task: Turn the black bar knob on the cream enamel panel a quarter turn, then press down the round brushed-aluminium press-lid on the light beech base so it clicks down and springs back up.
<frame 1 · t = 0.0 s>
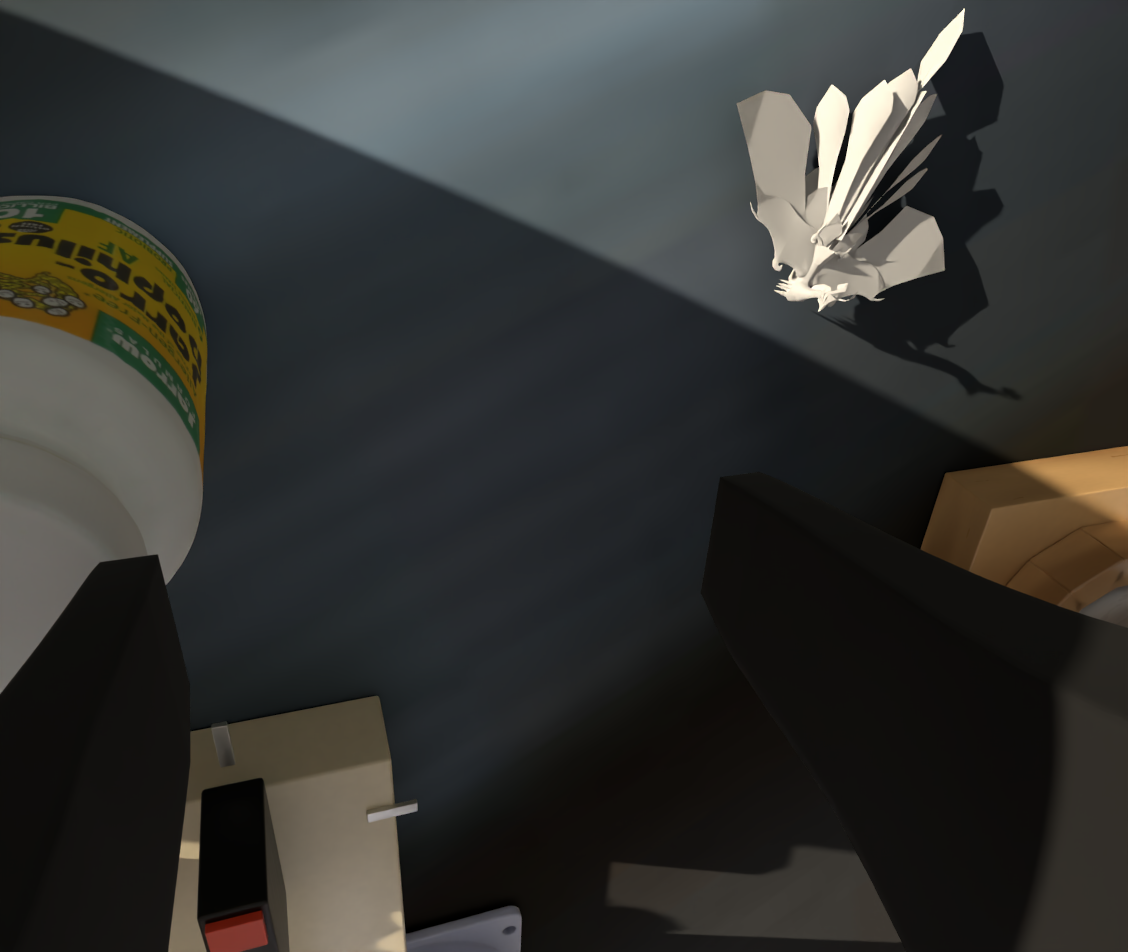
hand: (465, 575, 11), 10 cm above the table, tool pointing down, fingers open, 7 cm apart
flask lid: (1120, 654, 29), point 5 cm above the table, slide at 0.1 cm
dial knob: (247, 908, 22), point 4 cm above the table, hinge at 0.0°
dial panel: (259, 834, 27), on the table
lid base: (1018, 570, 32), on the table
flower: (851, 151, 21), on the table
supplement bottle: (69, 318, 18), on the table
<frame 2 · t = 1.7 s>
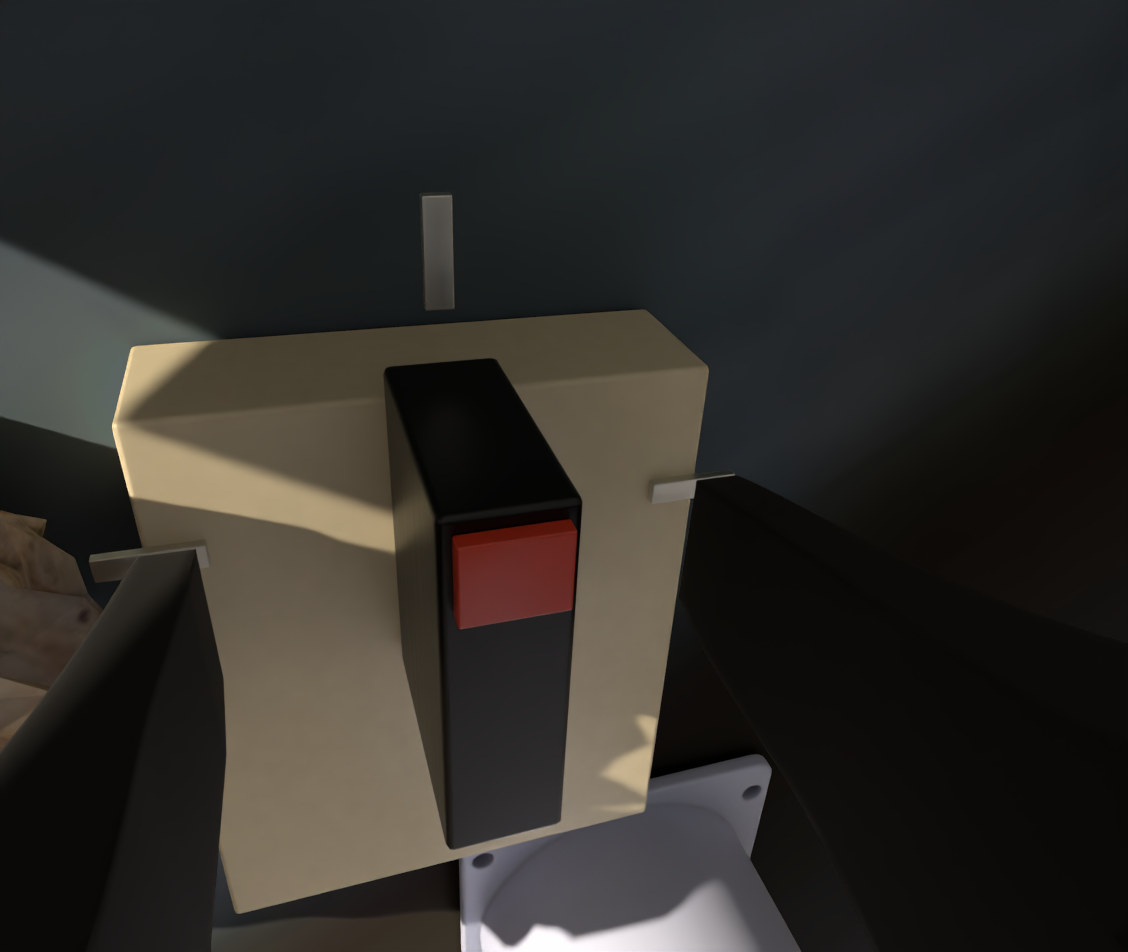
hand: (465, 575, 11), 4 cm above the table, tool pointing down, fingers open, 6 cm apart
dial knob: (475, 602, 11), point 4 cm above the table, hinge at 0.0°
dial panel: (422, 578, 16), on the table
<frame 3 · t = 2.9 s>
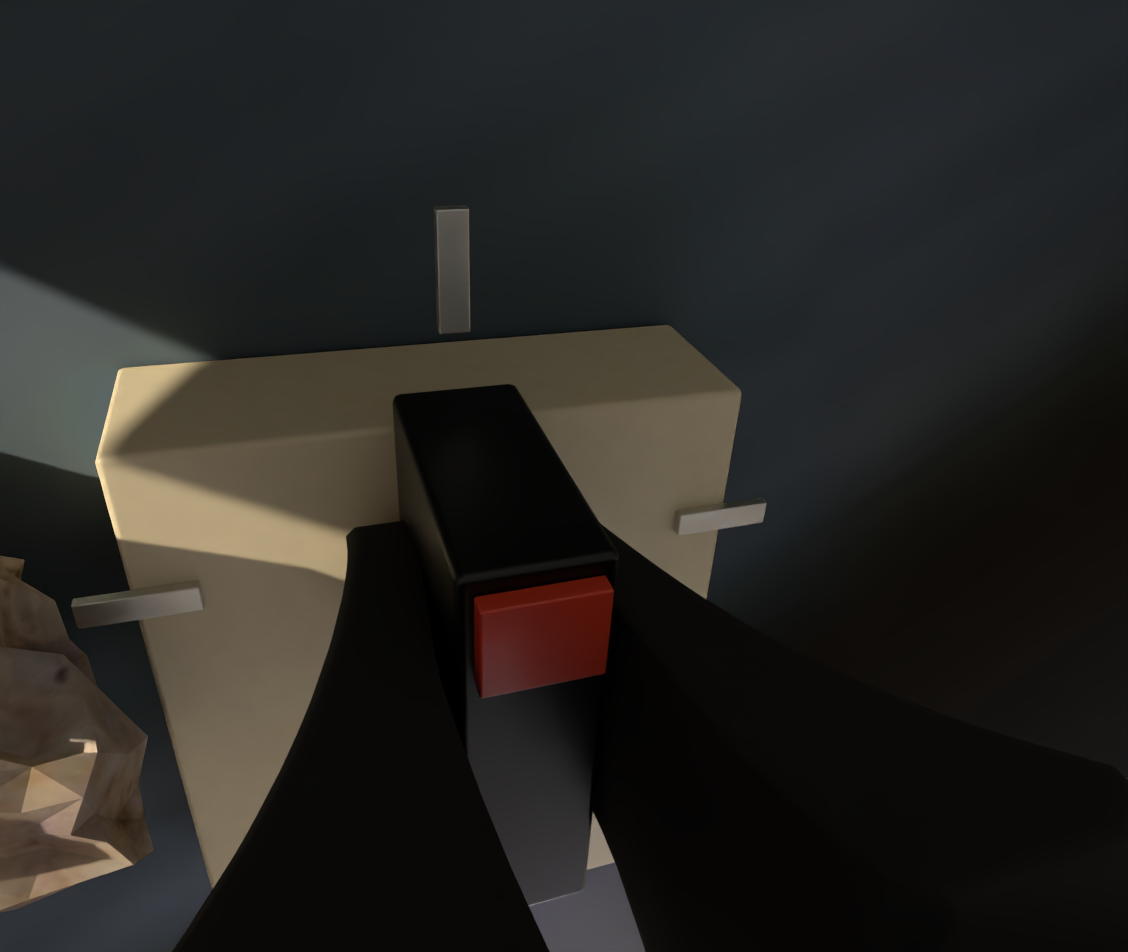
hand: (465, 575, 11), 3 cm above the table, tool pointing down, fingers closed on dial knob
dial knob: (492, 651, 10), point 4 cm above the table, hinge at 0.0°, touching gripper
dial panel: (429, 607, 15), on the table
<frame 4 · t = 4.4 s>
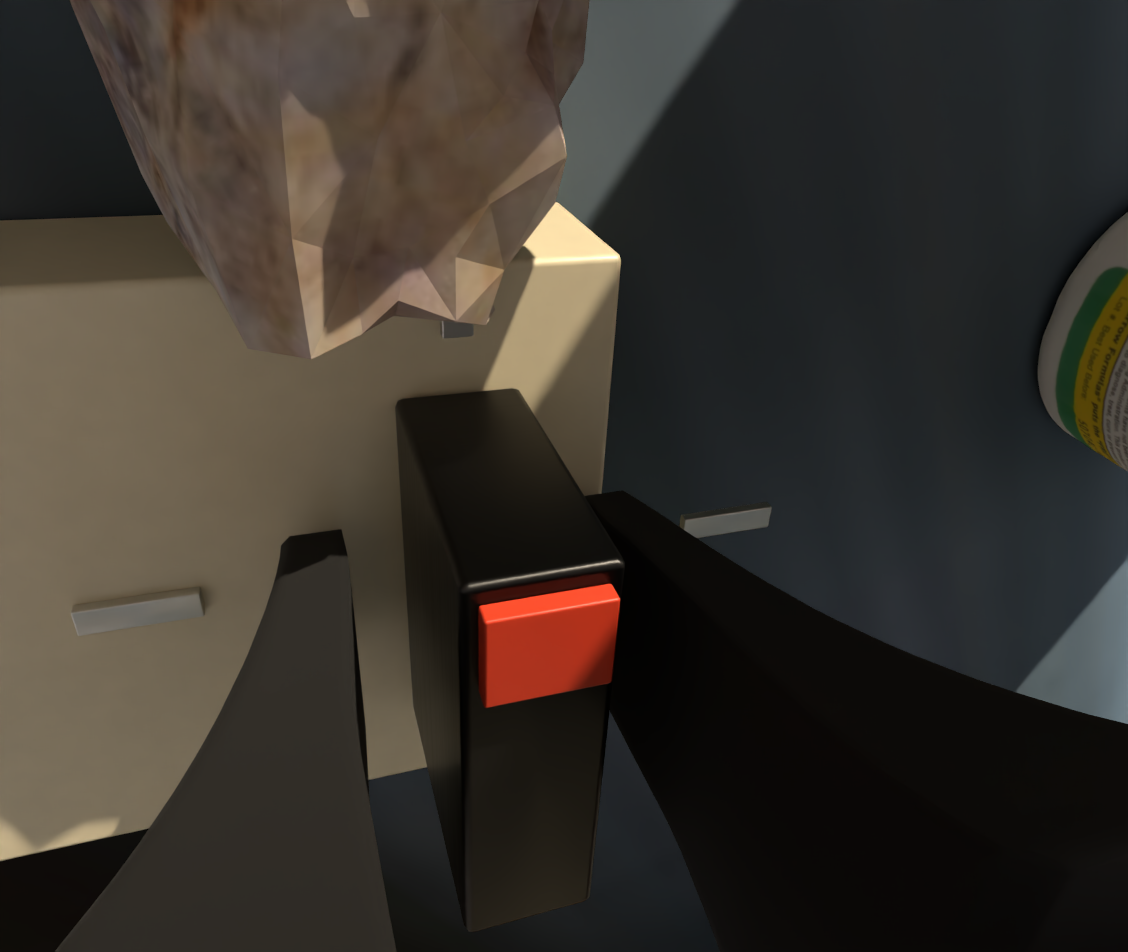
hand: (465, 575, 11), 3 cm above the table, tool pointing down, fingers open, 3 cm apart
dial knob: (496, 658, 10), point 4 cm above the table, hinge at 90.0°
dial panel: (221, 488, 13), on the table
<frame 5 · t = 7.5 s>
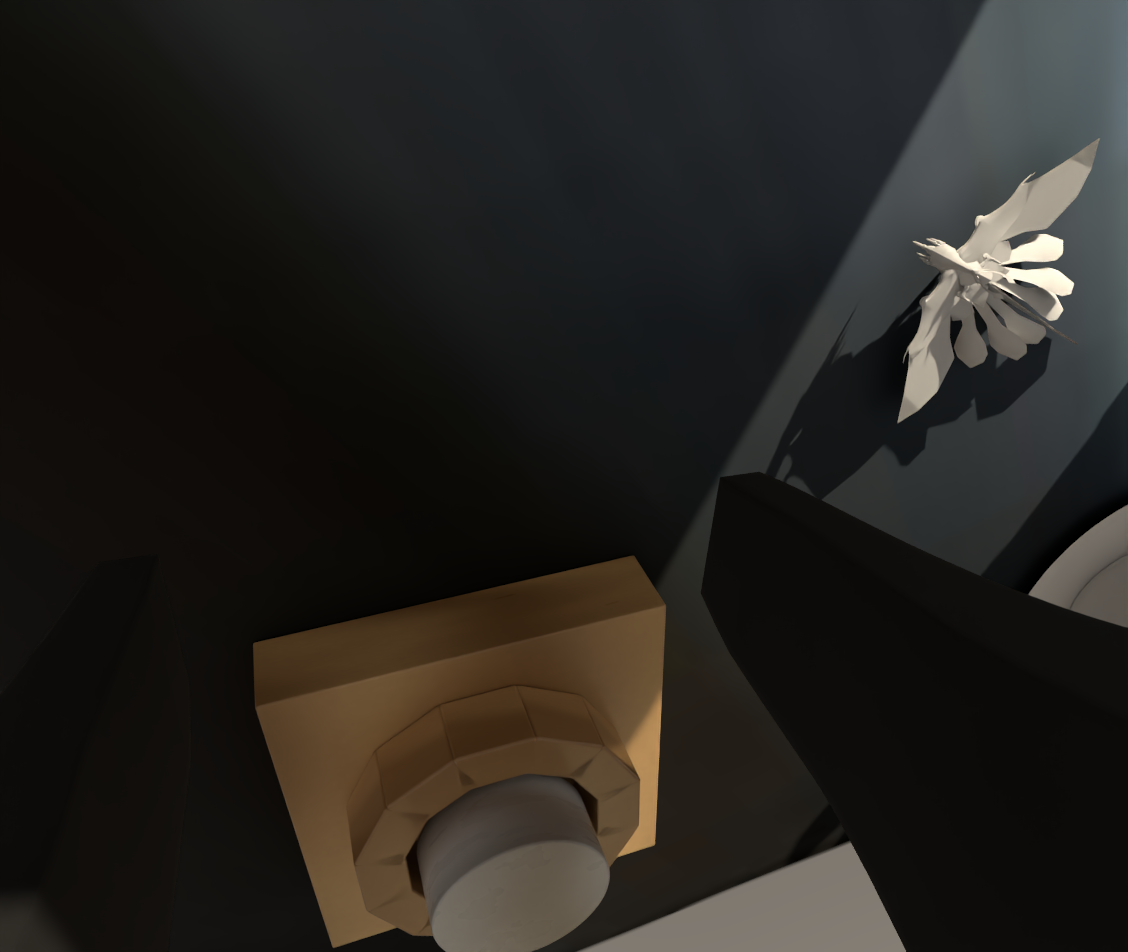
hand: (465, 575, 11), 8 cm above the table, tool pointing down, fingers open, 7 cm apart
flask lid: (512, 866, 21), point 5 cm above the table, slide at 0.1 cm
lid base: (470, 727, 25), on the table
teacup: (1105, 590, 32), on the table
flower: (986, 290, 23), on the table
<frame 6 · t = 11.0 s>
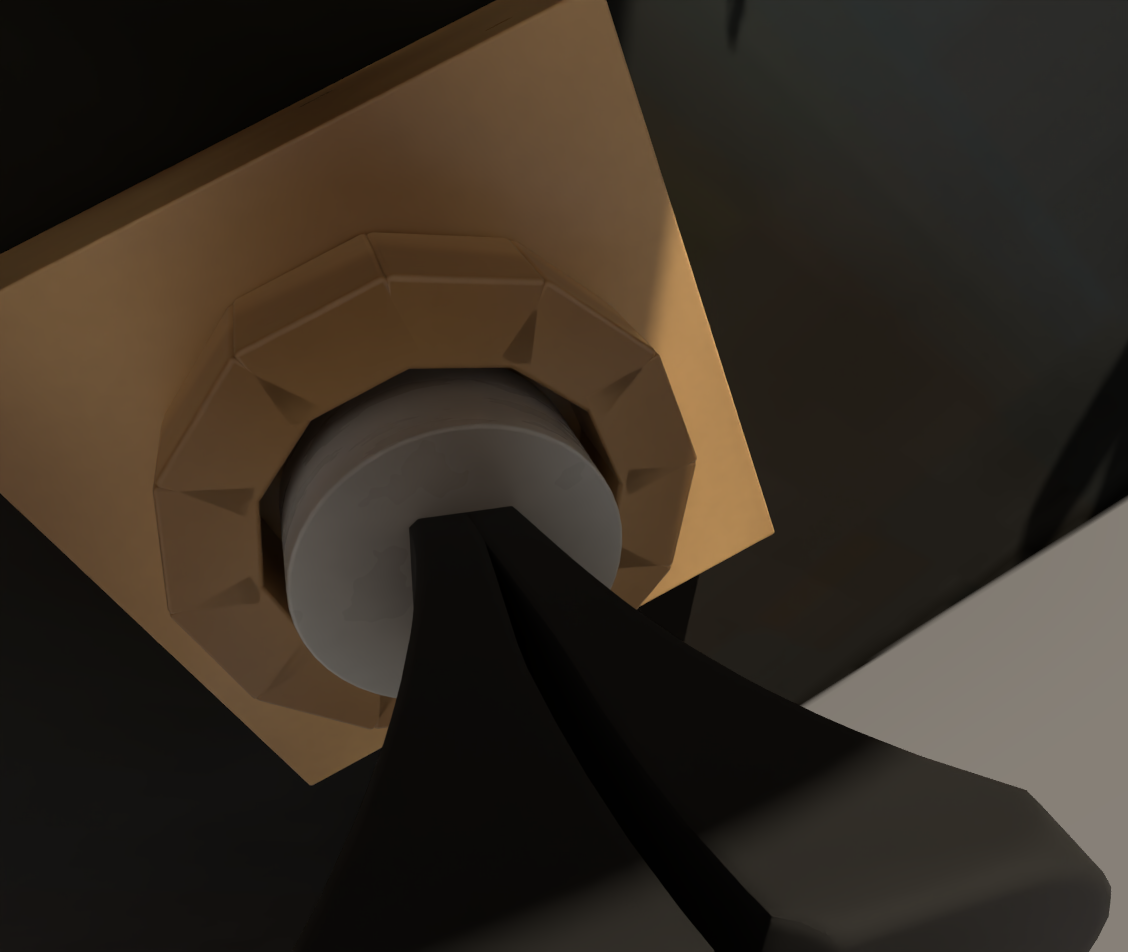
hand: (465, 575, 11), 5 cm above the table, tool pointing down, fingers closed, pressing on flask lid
flask lid: (448, 531, 12), point 4 cm above the table, slide at -0.6 cm, touching gripper
lid base: (403, 404, 15), on the table
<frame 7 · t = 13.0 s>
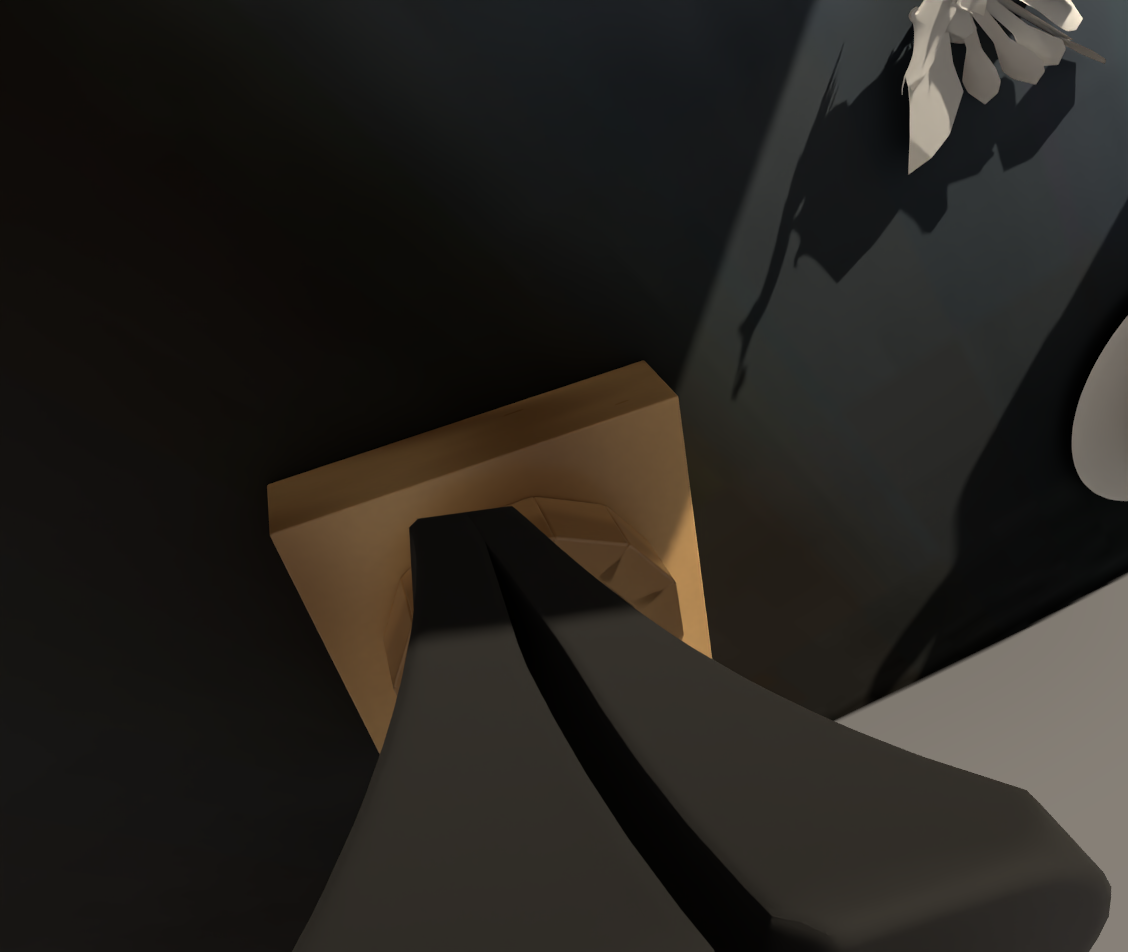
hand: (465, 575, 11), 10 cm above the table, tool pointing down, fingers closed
lid base: (505, 565, 25), on the table
flower: (991, 10, 21), on the table
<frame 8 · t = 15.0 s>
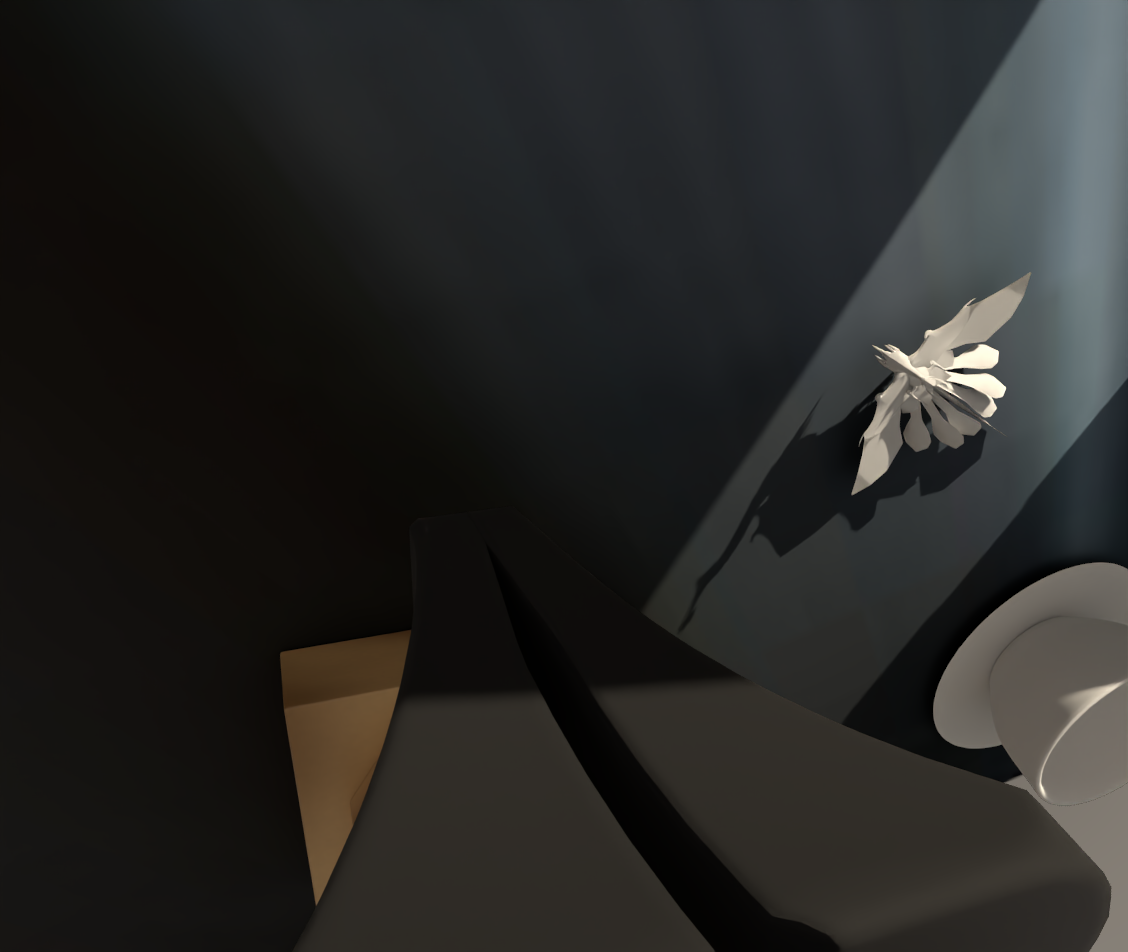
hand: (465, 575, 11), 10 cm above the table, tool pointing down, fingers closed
lid base: (459, 739, 28), on the table
teacup: (1026, 650, 36), on the table
flower: (933, 387, 27), on the table
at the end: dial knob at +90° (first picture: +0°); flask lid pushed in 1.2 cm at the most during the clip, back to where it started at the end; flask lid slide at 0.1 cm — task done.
